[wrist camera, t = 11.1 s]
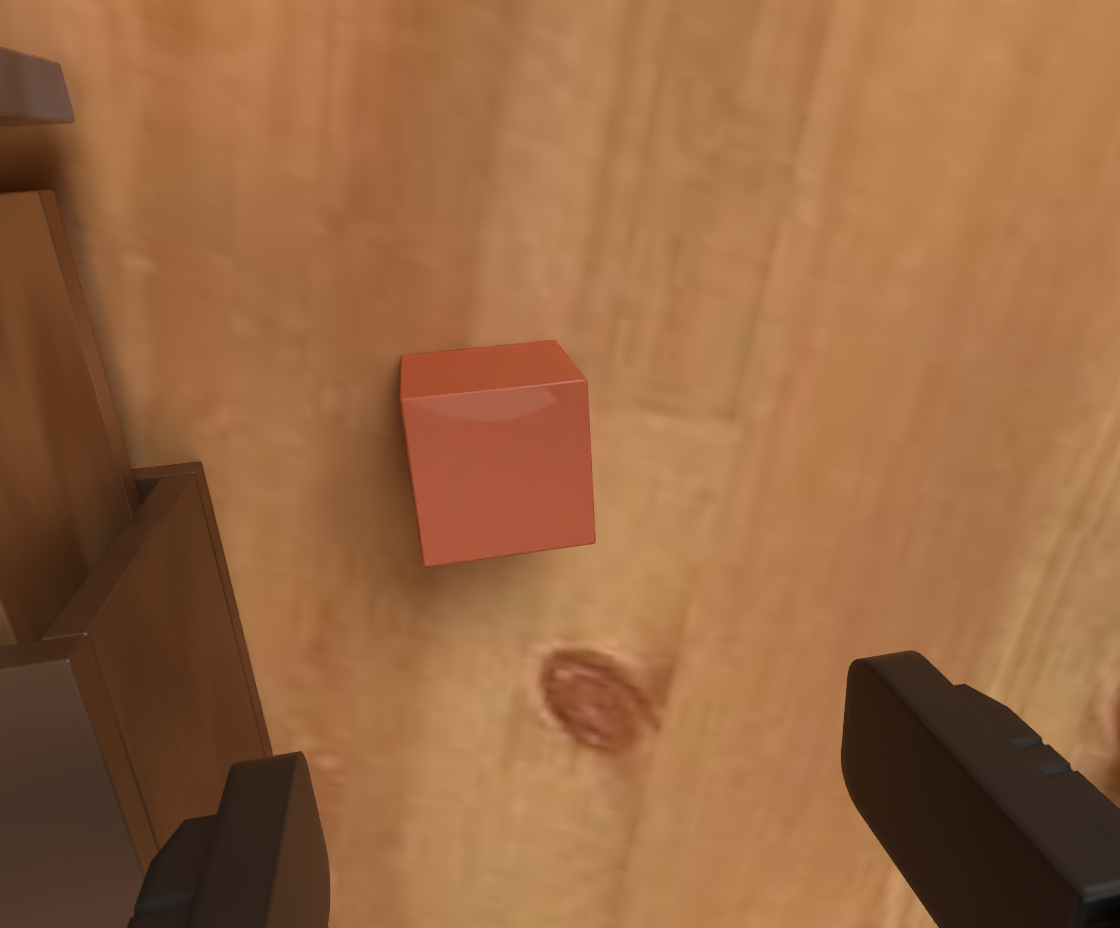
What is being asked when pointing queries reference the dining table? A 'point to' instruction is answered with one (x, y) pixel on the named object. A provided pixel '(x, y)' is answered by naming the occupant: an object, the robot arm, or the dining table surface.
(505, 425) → the block
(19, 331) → the drawer
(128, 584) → the cabinet
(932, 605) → the dining table surface
